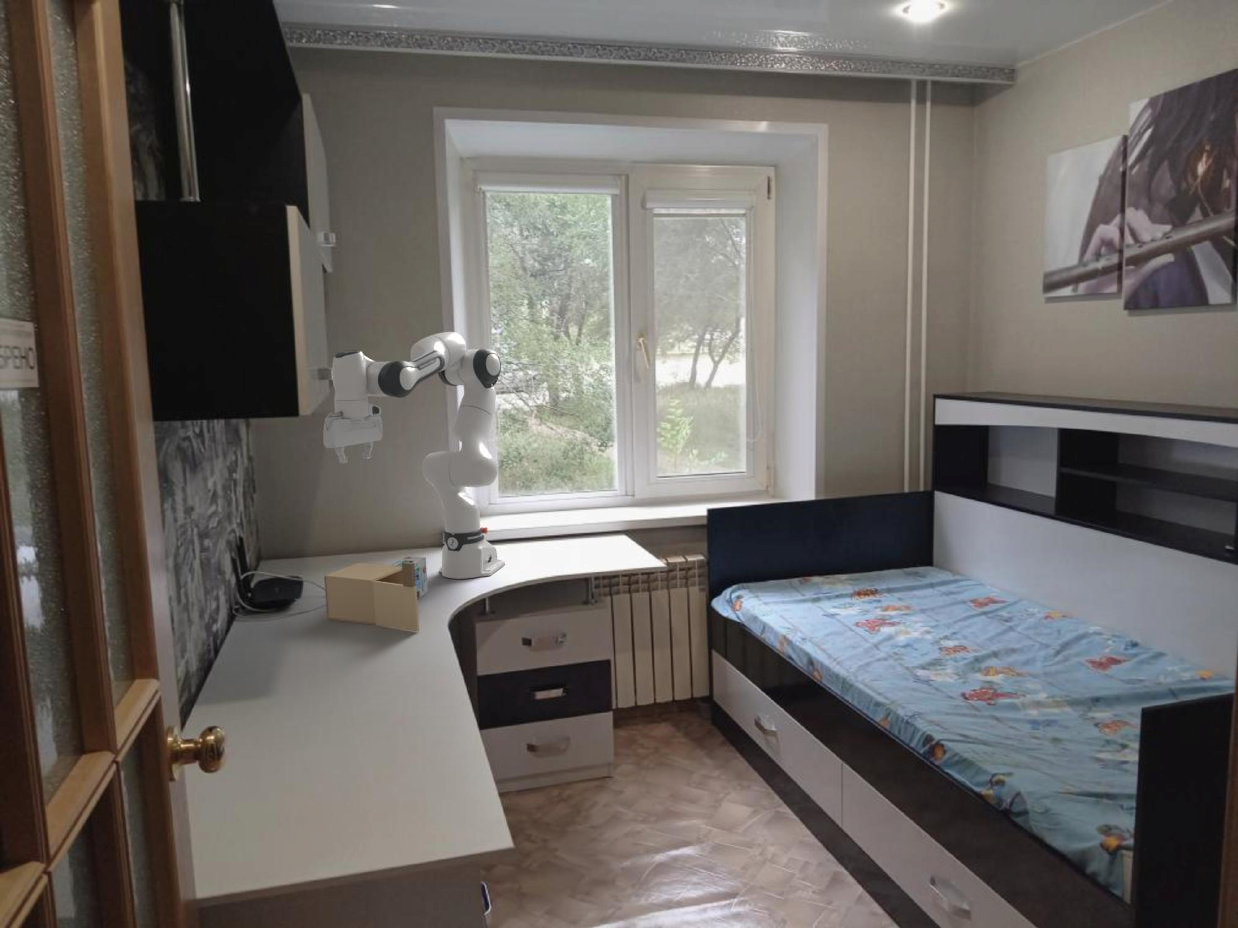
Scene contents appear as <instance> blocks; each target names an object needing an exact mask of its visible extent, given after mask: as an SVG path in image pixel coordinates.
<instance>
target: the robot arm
mask: <svg viewBox="0 0 1238 928" xmlns="http://www.w3.org/2000/svg"><path fill="white" fill-rule="evenodd" d="M331 366H332V367H331V368H332V370H331V372H332V373H331V375H332V376H333V377H332V385H333V387H334V398H333V402H334V412H330V413H327V415H326V416H325V418H324V424H323V432H322V433H323V437H322V438H323V440H322V441H323V446H324V447H325V448H326V449H334V452H335V454H336V455H337V457H338V463H340V464H343V465H344V464H348V462H349V460H348V459H349V457H348V455H347V456H346V455H345V454H346V453H345V452H344V451H345V449H346V448H345V447H349V446H355V445H361V444H363V446H364V451H363V452H361V453H362V456H361V457H362V459H363V460H368V459H371V458H372V454H371V453H372V451H373V447H374V442H379V441H381V440H382V439H383V433H384V431H383V428H384V427H383V421H382V420H383V419H382V417H381V414H382V407H380V406H377V404H376V405H375V404H373V403H370V402H369V397H392V398H400V399H401V398H402V399H403V398H405V397H408V396H409V395H410V394H411V393H412V392H413V391H414V389H416V387H417V386H418V385H419V384H420V383H422V382H424V381H425V380H427V379H429V378H431V377H432V376H434V375H436V374H437V375H438V377H439V379H440V380H441V382H442V383H443V384H444V385H447V386H452V387H457V386H463V397H462V398H461V401H460V404H459V407H458V409H457V413H456V417H455V420H454V423H453V427H452V431H453V435H454V437H455V438H456V439H457V440H458V441H459V442H461V448H460V450H459V451H454V450H453V451H452V450H451V451H449V450H448V451H447V450H440V451H435V452H431V453H429V454H427V455H426V456H425V458H424V459H423V461H422V463H421V464H422V465H421V472H422V473H421V474H422V475H423V478H424V480H425V481H426V482H428V483H429V484H430V485H431V486H432V487H433V489H434V490H435V491H436V494H437V496H438V498H439V500H440V502H441V507H442V510H443V521H444V523H443V524H444V531H443V535H442V536H443V542H444V545H443V546H442V548H441V549H442V551H441V552H442V553H441V567H439V570H438V571H439V572H440V573H441V575H442V577H445V578H448V579H454V580H455V579H459V580H461V579H462V580H463V579H473V578H480V577H490V576H492V575H493V574H495V573H496V572H497V571H499V569H501V568H502V567H504V566H505V565H506V562H505V561H504V560H501V559H498V552H497V548H496V547H495V546H494V545H493V544H491V543H490V542H489V541H487V540H486V539H485V536H484V534H488V532H489V528H488V527H486V526H485V527H484V526H481V517H480V515H481V513H480V505H479V504H478V502H477V501H476V499H474V498H472V497H471V496H470V495H469V494H468V492H467V490H466V488H476V489H477V488H482V487H483V488H484V487H487V486H491V485H492V484H493V483H494V482H496V481H495V480H496V479H497V476H498V472H499V470H498V469H499V467H498V463H497V461H496V459H495V457H494V456H492V455H491V452H490V451H489V447H488V438H489V432H490V429H491V428H490V427H491V424H492V420H493V417H494V416H493V415H494V413H495V407H496V397H497V393H496V392H497V391H496V389H495V388H494V386H496V384H497V382H498V379H499V378H500V375H501V371H502V361H501V358H500V357H499V355H498V353H497V352H496V351H494V350H492V349H489V348H480V349H467V344H466V342H465V339H464V338H463V337H462V335H460V334H459V333H457V332H454V331H445V332H439V333H438V332H437V333H435V334H431V335H429V336H426V337H424V338H421V339H419V340H418V341H416V343H414V344H412V346H411V350H410V361H406V360H405V361H404V360H393V361H376V360H373V359H370V358H369V357H367V356H366V355H365V354H364V353H363V351H362V350H360V349H350V350H344V351H339V352H337V353H336V354H335V355H334V357H333V359H332V365H331Z"/></svg>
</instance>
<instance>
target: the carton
mask: <svg viewBox="0 0 1238 928" xmlns="http://www.w3.org/2000/svg"><path fill="white" fill-rule="evenodd" d="M323 576H324V577H323V578H324V579H323V580H324V593H325V604H326V605H325V606H326V617H327V620H332V619H333V621H340V622H347V621H348V623H355V624H362V623H363V624H362V625H370V624H372V625H371V626H377V625H376V620H375V606H374V591H373V581H380V582H387V583H394V584H401V585H403V574H402V567H399V566H390V565H386V564H377V563H376V564H375V563H366V562H357V563H355V564H352V565H350V566H346V567H344V568H340V569H338V570H336V571H332V572H330V573H327V574H325V575H323Z"/></svg>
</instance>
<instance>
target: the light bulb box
mask: <svg viewBox="0 0 1238 928" xmlns="http://www.w3.org/2000/svg"><path fill="white" fill-rule="evenodd" d="M403 562H411V563H414V567H415V583H416V586H415V587H416V588H417V600H418V599H420V598H422V597H423V596H425V595H426V594H428V592H429V590H428V573H427V558H426V557H421V556H420V557H419V556H404V557H403V558H400V559H399V560H397V561H396V562H394V563H391V564H390V565H389V566H399V567H402V563H403Z"/></svg>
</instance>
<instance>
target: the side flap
mask: <svg viewBox="0 0 1238 928" xmlns="http://www.w3.org/2000/svg"><path fill="white" fill-rule="evenodd" d="M402 574H403V585H401V584H394V583H387V582H380V581H373V591H374V606H375V620H376V625H375V626H381V627H387V628H393V629H397V630H398V629H400V630H406V631H411V632H417V633H418V632H420V626H419V625H420V624H419V623H420V621H419V609H418V608H419V607H418V599H417V588H416V587H415V586H416V583H415V567H414V563H411V562H403V563H402Z"/></svg>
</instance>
